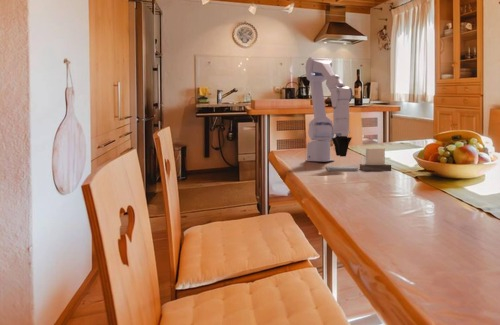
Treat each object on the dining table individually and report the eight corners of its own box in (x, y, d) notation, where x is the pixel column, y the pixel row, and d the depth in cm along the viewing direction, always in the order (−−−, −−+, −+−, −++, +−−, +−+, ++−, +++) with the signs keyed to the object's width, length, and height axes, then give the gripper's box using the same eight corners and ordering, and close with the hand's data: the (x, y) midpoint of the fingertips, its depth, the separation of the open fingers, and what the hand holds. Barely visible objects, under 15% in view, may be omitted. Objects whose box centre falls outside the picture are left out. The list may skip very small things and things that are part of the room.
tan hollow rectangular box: (359, 169, 126) (359, 164, 126) (385, 169, 125) (385, 163, 125) (363, 170, 120) (363, 165, 119) (391, 170, 119) (391, 164, 118)
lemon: (436, 170, 115) (436, 147, 115) (419, 170, 116) (419, 148, 116) (431, 169, 121) (431, 147, 120) (414, 169, 122) (415, 147, 121)
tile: (329, 171, 119) (329, 168, 119) (325, 169, 129) (325, 166, 129) (357, 171, 118) (357, 168, 118) (352, 168, 128) (352, 166, 128)
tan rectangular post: (365, 169, 124) (365, 148, 123) (381, 169, 124) (381, 148, 123) (368, 170, 121) (368, 148, 120) (384, 170, 121) (384, 148, 120)
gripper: (327, 121, 130) (327, 155, 131) (333, 118, 116) (332, 156, 116) (346, 120, 129) (345, 155, 130) (353, 117, 115) (353, 156, 116)
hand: (341, 156), depth 123 cm, fingers open, 7 cm apart
